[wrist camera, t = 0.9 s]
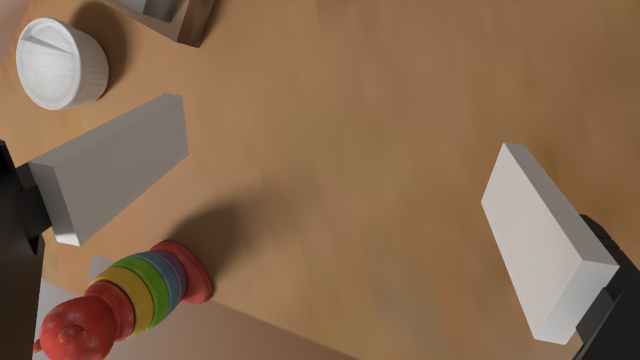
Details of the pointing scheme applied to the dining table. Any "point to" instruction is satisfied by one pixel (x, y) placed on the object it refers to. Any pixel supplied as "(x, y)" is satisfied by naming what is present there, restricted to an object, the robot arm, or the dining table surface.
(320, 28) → the dining table surface
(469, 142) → the dining table surface
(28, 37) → the ramekin
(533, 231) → the robot arm
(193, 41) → the grey stacked platform
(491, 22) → the dining table surface
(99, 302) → the stacking bear
